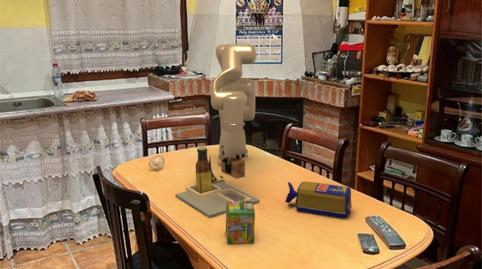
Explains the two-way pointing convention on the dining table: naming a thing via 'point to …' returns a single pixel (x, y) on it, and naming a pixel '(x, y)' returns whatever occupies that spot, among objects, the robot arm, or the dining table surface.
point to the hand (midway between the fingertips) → (233, 171)
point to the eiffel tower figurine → (214, 176)
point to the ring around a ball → (156, 162)
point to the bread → (321, 199)
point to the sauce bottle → (203, 172)
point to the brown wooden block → (235, 168)
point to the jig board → (213, 198)
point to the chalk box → (240, 222)
